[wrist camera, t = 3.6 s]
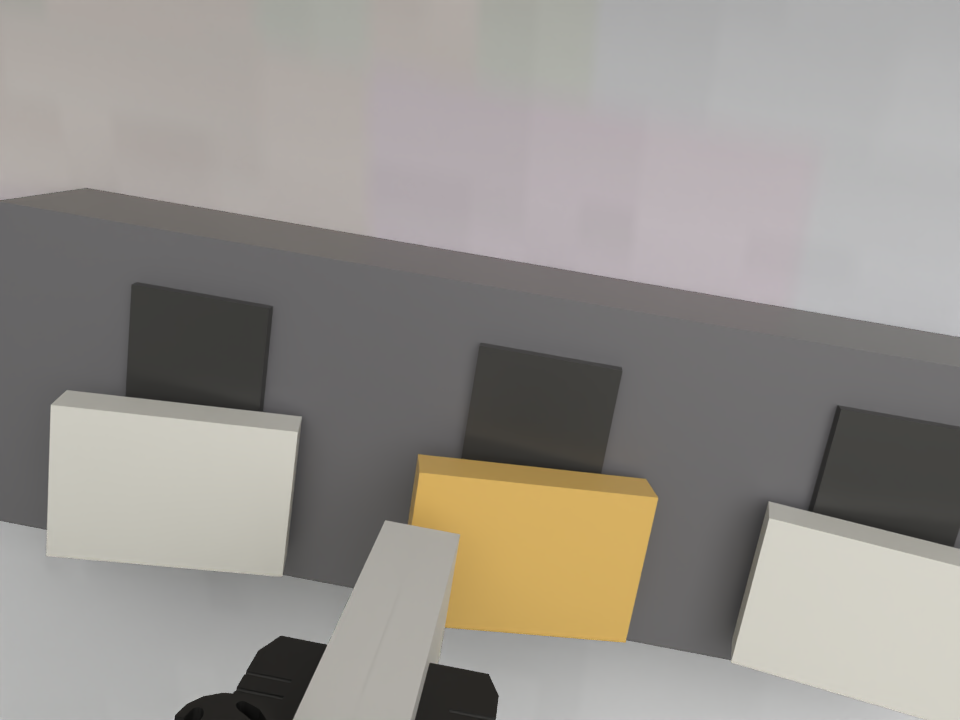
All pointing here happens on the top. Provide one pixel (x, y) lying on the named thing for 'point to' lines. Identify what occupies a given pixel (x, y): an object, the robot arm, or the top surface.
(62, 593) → the top surface
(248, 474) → the white box
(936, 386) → the power strip
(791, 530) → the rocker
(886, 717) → the top surface
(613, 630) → the yellow box
